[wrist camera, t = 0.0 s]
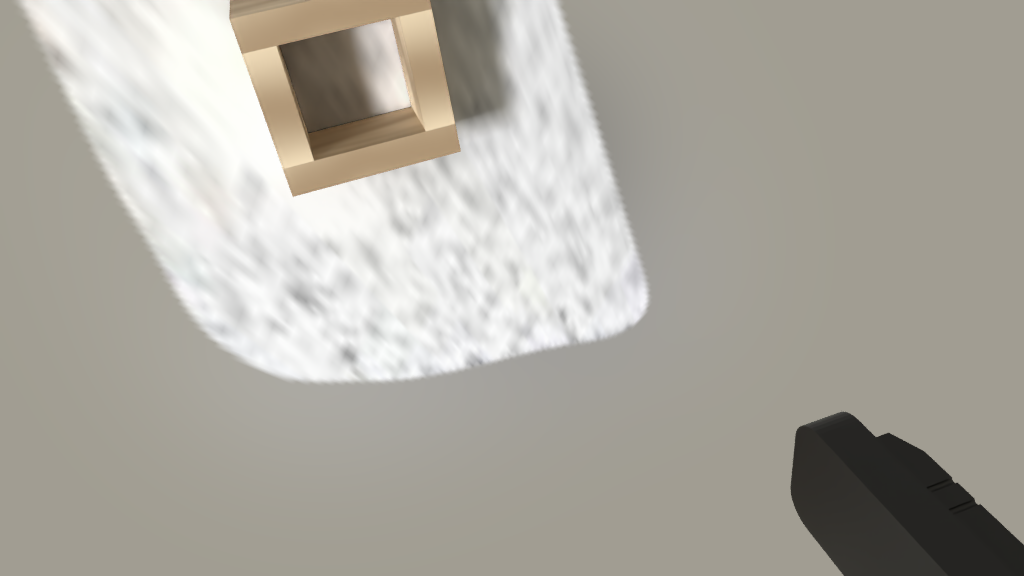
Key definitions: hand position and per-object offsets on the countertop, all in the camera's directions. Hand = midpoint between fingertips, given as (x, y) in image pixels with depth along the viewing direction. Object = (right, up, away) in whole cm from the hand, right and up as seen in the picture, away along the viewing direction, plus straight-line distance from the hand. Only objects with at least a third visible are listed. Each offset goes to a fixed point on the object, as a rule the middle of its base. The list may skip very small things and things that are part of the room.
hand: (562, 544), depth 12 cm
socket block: (-9, +14, +24) cm, 29 cm away
